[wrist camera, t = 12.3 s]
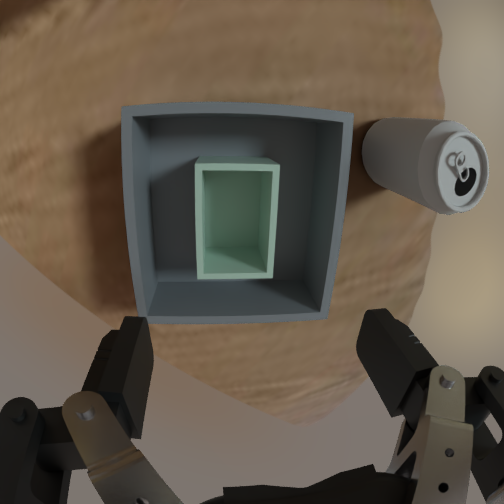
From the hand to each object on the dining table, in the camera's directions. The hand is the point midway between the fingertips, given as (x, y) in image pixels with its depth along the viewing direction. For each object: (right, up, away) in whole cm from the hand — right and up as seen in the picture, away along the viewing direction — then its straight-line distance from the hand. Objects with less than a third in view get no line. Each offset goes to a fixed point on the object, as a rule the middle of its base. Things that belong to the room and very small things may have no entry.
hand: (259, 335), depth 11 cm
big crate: (-2, +8, +18) cm, 20 cm away
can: (+14, +13, +18) cm, 26 cm away
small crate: (-2, +7, +17) cm, 19 cm away
